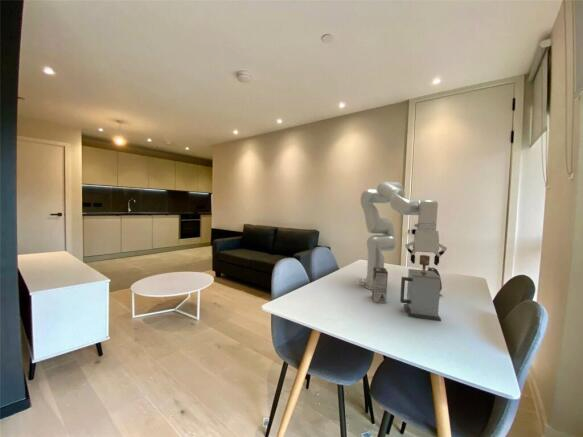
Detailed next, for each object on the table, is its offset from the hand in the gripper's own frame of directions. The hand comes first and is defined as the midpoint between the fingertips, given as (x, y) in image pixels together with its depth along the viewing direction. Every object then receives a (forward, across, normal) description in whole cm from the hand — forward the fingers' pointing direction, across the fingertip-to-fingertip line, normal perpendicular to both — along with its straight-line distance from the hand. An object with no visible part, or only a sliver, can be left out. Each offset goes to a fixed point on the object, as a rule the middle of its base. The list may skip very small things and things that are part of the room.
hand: (424, 263), depth 117 cm
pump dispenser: (+23, +12, +31) cm, 41 cm away
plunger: (+17, 0, 0) cm, 17 cm away
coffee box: (+24, -18, +11) cm, 32 cm away
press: (+23, -1, 0) cm, 23 cm away
